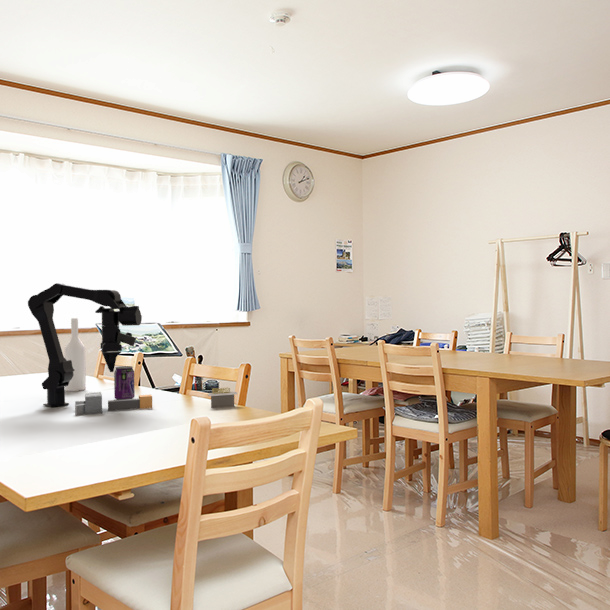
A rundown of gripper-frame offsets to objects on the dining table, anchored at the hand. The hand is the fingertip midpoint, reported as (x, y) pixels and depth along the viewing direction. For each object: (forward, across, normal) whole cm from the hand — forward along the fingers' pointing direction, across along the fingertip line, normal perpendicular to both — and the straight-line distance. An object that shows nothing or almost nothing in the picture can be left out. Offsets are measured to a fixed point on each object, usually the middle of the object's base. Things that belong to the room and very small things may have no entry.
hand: (111, 370), depth 202 cm
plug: (+12, -10, -6) cm, 17 cm away
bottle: (+12, +49, +12) cm, 52 cm away
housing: (+12, -10, +8) cm, 17 cm away
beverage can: (+12, +12, -5) cm, 18 cm away
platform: (+13, -20, -34) cm, 42 cm away
